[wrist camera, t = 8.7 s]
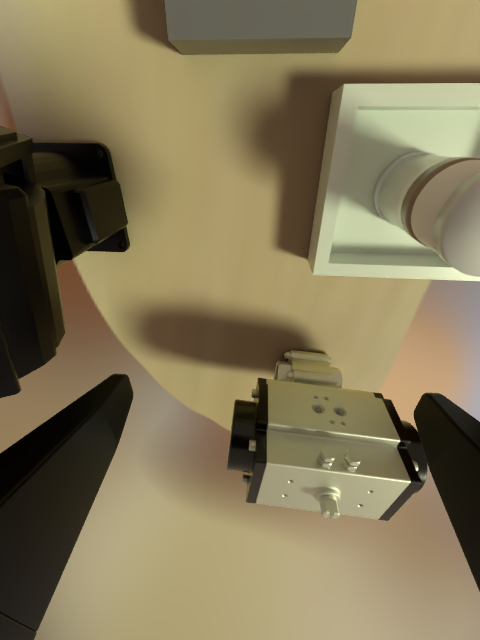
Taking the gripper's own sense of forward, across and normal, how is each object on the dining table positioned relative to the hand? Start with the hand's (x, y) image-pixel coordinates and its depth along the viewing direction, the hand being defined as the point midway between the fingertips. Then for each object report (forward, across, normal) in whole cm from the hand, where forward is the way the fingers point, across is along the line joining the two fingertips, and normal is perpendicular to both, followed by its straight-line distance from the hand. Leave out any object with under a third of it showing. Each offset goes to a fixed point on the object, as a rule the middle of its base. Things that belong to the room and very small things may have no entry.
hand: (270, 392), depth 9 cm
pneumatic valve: (+13, -4, +10) cm, 17 cm away
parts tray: (+13, -8, -4) cm, 16 cm away
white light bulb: (+12, -8, -4) cm, 15 cm away
